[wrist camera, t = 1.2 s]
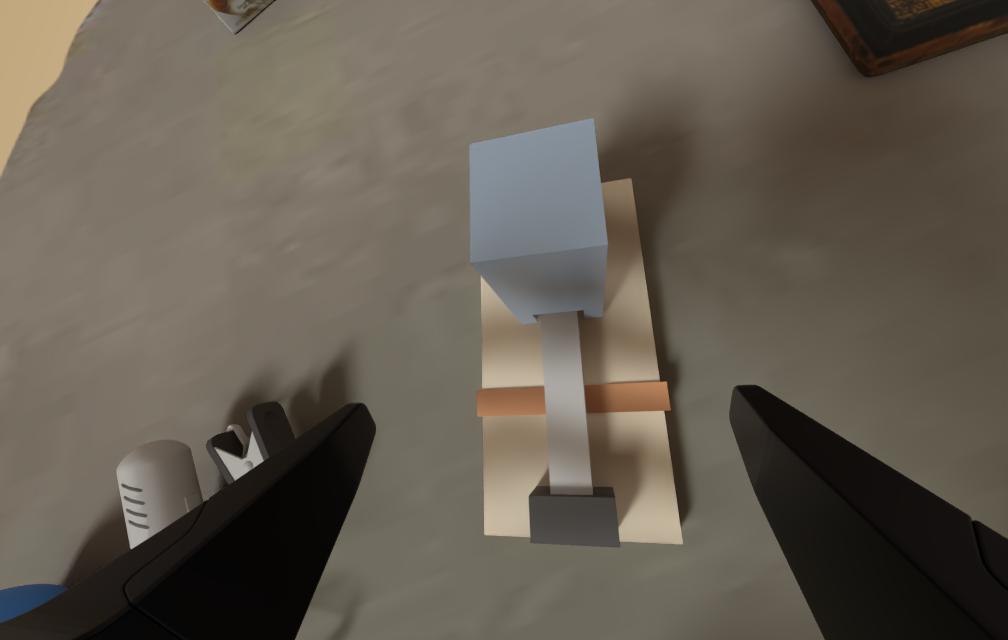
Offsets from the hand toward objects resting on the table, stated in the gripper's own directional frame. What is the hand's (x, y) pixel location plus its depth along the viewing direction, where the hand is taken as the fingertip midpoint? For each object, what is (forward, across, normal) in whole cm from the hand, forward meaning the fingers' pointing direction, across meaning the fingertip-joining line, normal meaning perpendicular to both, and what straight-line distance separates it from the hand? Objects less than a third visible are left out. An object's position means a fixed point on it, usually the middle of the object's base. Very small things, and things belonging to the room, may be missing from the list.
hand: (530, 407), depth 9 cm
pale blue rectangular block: (+13, 0, +3) cm, 14 cm away
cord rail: (+12, 0, +7) cm, 14 cm away
